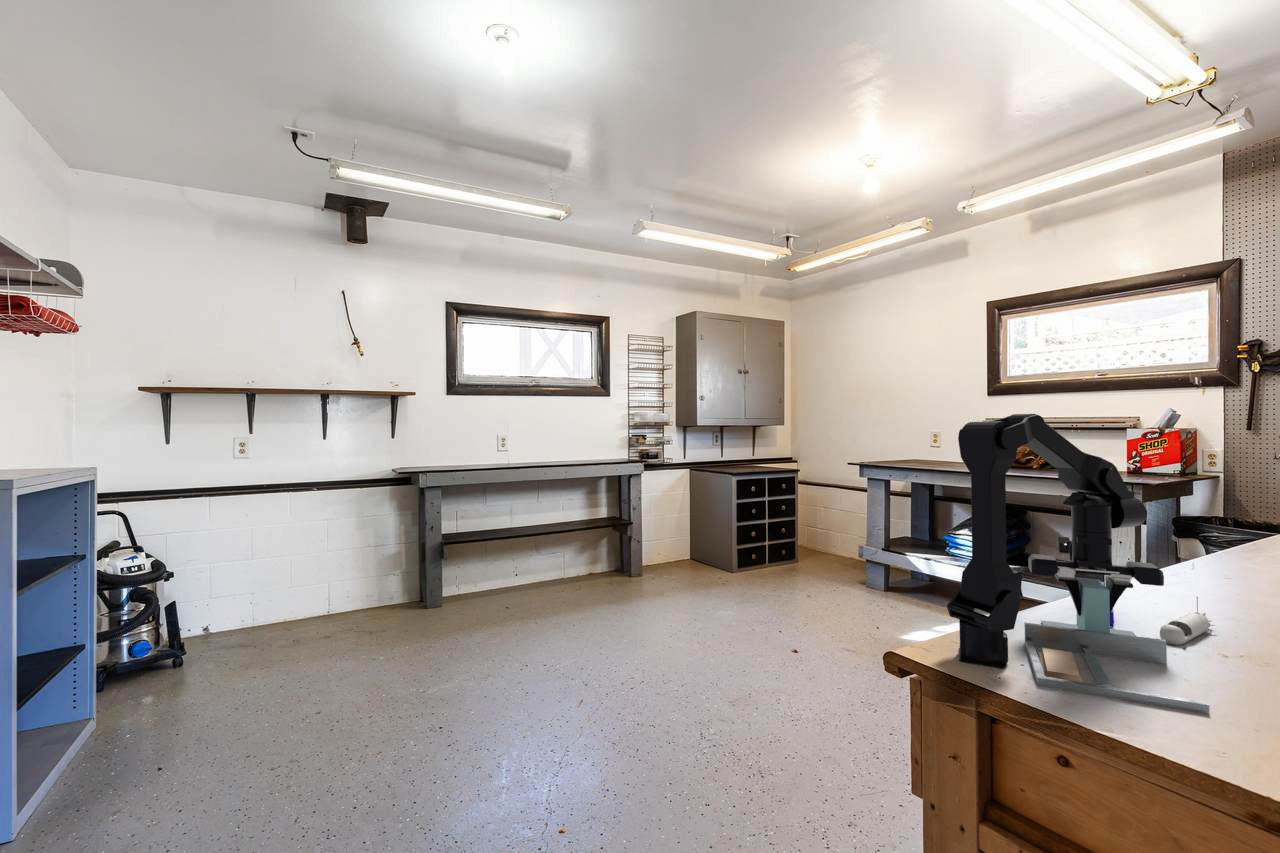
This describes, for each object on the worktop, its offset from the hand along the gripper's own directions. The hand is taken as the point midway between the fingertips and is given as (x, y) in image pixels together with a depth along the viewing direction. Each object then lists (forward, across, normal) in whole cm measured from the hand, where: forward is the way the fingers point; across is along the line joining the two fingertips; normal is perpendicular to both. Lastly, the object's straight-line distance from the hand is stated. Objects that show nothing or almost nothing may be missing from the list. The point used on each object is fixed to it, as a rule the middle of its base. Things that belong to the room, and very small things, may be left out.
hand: (1092, 616), depth 105 cm
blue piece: (+5, -4, -17) cm, 18 cm away
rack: (+4, +2, +18) cm, 19 cm away
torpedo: (+5, -16, -11) cm, 20 cm away
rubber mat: (+4, 0, 0) cm, 4 cm away
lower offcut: (+5, +7, +18) cm, 20 cm away
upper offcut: (+4, +7, +18) cm, 20 cm away
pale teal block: (+3, 0, 0) cm, 3 cm away
